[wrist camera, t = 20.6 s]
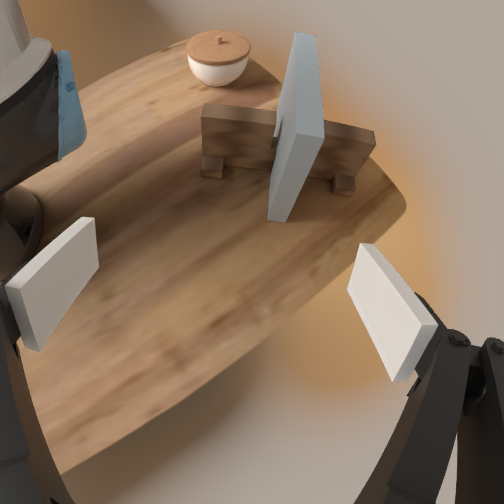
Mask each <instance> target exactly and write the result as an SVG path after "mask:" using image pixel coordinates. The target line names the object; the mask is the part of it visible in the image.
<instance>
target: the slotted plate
mask: <svg viewBox="0 0 504 504" xmlns="http://www.w3.org/2000/svg"><path fill="white" fill-rule="evenodd" d="M276 112H277V120H276V128H275V132H274V136H273V137H277V146H276V158H275V161H274V165H273V168H272V172H271V176H270V187H269V200H268V214H267V220H269V221H276V222H284V223H285V222H286V220H287V218H288V216H289V214H290V212H291V210H292V208H293V205H294V203H295V201H296V199H297V197H298V195H299V193H300V190H301V188H302V186H303V184H304V182H305V180H306V178H307V175H308V173H309V171H310V169H311V167H312V165H313V162H314V160H315V158H316V156H317V154H318V152H319V149H320V147H321V145H322V143H323V141H324V139H325V136H324V120H323V106H322V95H321V83H320V72H319V64H318V54H317V45H316V37H315V36H314V35H310V34H304V33H299V32H295V36H294V41H293V45H292V49H291V53H290V57H289V61H288V65H287V69H286V74H285V78H284V82H283V86H282V90H281V94H280V99H279V103H278V107H277V111H276Z"/></svg>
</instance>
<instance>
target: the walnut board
mask: <svg viewBox="0 0 504 504" xmlns="http://www.w3.org/2000/svg"><path fill="white" fill-rule="evenodd" d="M276 120H277V112H276V111H269V110H262V109H254V108H246V107H238V106H228V105H217V104H204V108H203V111H202V115H201V126H202V147H203V157H202V162H201V167H200V173H201V176H203V177H212V178H222V173H223V167H224V165H226V166H234V167H243V168H251V169H259V170H267V171H272V168H273V165H274V161H275V158H276V146H277V137H273V136H274V132H275V128H276ZM324 136H325V139H324V141H323V143H322V145H321V147H320V149H319V152H318V154H317V156H316V158H315V160H314V162H313V165H312V167H311V169H310V171H309V173H308V175H307V177H313V178H320V179H325V180H331V191H332V194H337V195H343V196H348V197H351V195H352V194H353V193H354V191H355V180H354V177H355V175H356V174H357V172H358V171H359V169H360V168H361V167H362V165H363V164H364V162H365V161H366V159H367V158H368V156H369V155H370V153H371V152H372V150H373V149H374V147H375V146H376V141H375V136H374V131H371V130H366V129H362V128H358V127H354V126H349V125H345V124H341V123H336V122H332V121H327V120H324Z"/></svg>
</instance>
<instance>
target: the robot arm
mask: <svg viewBox="0 0 504 504" xmlns="http://www.w3.org/2000/svg"><path fill="white" fill-rule="evenodd" d="M86 135H87V129H86V125H85V121H84V116H83V112H82V108H81V104H80V100H79V96H78V92H77V88H76V83H75V78H74V73H73V68H72V63H71V58H70V54H69V51H67V50H63V51H57V52H56V53H55V54H54V51H53V49H52V46H51V43H50V42H49V41H48V40H46V39H42V38H37V37H32V36H31V34H30V32H29V29H28V26H27V24H26V21H25V19H24V16H23V13H22V10H21V7H20V4H19V1H18V0H0V281H4V280H5V281H4V282H3V283H2V284H1V285H0V504H75V503H74V501H73V500H72V498H71V496H70V495H69V493H68V491H67V489H66V487H65V485H64V483H63V481H62V478H61V476H60V474H59V472H58V470H57V467H56V465H55V463H54V461H53V458H52V456H51V453H50V451H49V448H48V446H47V443H46V441H45V438H44V435H43V433H42V430H41V427H40V424H39V421H38V418H37V415H36V412H35V409H34V406H33V403H32V399H31V396H30V392H29V389H28V385H27V381H26V377H25V373H24V369H23V365H22V361H21V356H20V352H19V348H18V345H17V343H16V341H17V340H18V339H19V337H20V336H21V338H22V340H23V343H24V345H25V347H26V348H29V349H32V350H36V351H41V350H42V348H43V347H44V345H45V344H46V342H47V340H48V339H49V337H50V336H51V334H52V333H53V331H54V330H55V328H56V327H57V325H58V324H59V322H60V321H61V319H62V318H63V316H64V315H65V314H66V312H67V311H68V309H69V308H70V306H71V305H72V304H73V302H74V301H75V299H76V298H77V297H78V295H79V294H80V292H81V291H82V290H83V288H84V287H85V286H86V284H87V283H88V281H89V280H90V279H91V277H92V276H93V275H94V273H95V272H96V271H97V270H98V268H99V262H98V253H97V242H96V230H95V218H90V217H81V218H80V219H78V220H77V221H76V222H75V223H73V224H72V225H71V226H70V227H69V228H67V229H66V230H65V231H64V232H63V233H61V234H60V235H59V236H58V237H57V238H56V239H54V240H53V241H52V242H51V243H50V244H49V245H47V246H46V247H45V248H44V249H43V250H42V251H41V252H40V253H38V254H37V255H36V256H35V257H34V258H32V256H33V254H34V253H35V251H36V248H37V246H38V243H39V240H40V237H41V233H42V226H43V215H42V209H41V206H40V204H39V202H38V200H37V199H36V198H35V196H34V195H33V194H32V193H31V192H30V191H29V190H28V189H26V188H25V187H23V186H21V185H18V184H19V183H21V182H23V181H24V180H26V179H27V178H29V177H31V176H32V175H34V174H36V173H38V172H39V171H41V170H43V169H44V168H46V167H48V166H50V165H51V164H53V163H55V162H59V161H60V160H61V159H62V157H64V156H66V155H67V154H69V153H71V152H72V151H74V150H76V149H77V148H79V147H80V146H81V145H82V144H83V143H84V141H85V139H86ZM31 258H32V259H31ZM347 291H348V293H349V295H350V297H351V299H352V301H353V303H354V305H355V307H356V309H357V311H358V312H359V315H360V317H361V319H362V320H363V322H364V325H365V327H366V328H367V330H368V333H369V335H370V337H371V338H372V341H373V343H374V345H375V346H376V349H377V351H378V353H379V355H380V357H381V359H382V362H383V363H384V366H385V368H386V370H387V372H388V374H389V377H390V379H391V381H392V382H399V381H408V380H409V378H410V377H411V375H412V373H413V371H414V370H416V372H417V374H418V378H417V380H416V381H415V383H414V385H413V386H412V388H411V389H410V391H409V393H408V394H407V396H408V397H409V398H408V401H407V403H406V405H405V408H404V410H403V412H402V414H401V417H400V419H399V421H398V423H397V425H396V428H395V430H394V432H393V434H392V436H391V438H390V440H389V442H388V444H387V446H386V448H385V450H384V452H383V454H382V456H381V458H380V460H379V461H378V463H377V465H376V467H375V469H374V471H373V472H372V474H371V476H370V478H369V480H368V481H367V483H366V484H365V486H364V488H363V489H362V491H361V493H360V494H359V496H358V498H357V499H356V501H355V502H354V504H436V503H435V502H436V498H437V496H438V493H439V490H440V488H441V485H442V482H443V479H444V476H445V473H446V470H447V466H448V463H449V460H450V456H451V452H452V449H453V446H454V441H455V438H456V434H457V442H458V443H457V444H458V452H457V482H456V497H455V504H504V342H503V341H501V340H500V339H496V338H491V337H490V338H487V339H486V340H485V342H484V344H483V346H482V347H479V346H474V345H471V342H470V340H469V339H468V338H467V337H466V336H465V335H464V334H463V333H461V332H459V331H457V330H454V329H447V328H446V326H445V325H444V324H443V322H442V321H441V320H440V319H439V317H438V316H437V315H436V313H434V311H433V309H432V308H431V307H430V306H429V304H428V303H427V302H426V301H425V299H424V298H422V297H421V296H420V295H418V294H417V293H415V292H413V291H412V290H411V288H410V287H409V286H408V285H407V283H406V282H405V281H404V280H403V279H402V278H401V276H400V275H399V274H398V272H397V271H396V270H395V269H394V268H393V266H392V265H391V264H390V263H389V262H388V260H387V259H386V258H385V257H384V256H383V255H382V253H381V252H380V251H379V250H378V249H377V248H376V246H375V245H374V244H368V243H360V245H359V249H358V253H357V256H356V260H355V264H354V268H353V271H352V274H351V278H350V281H349V284H348V288H347Z"/></svg>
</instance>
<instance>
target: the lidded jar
mask: <svg viewBox="0 0 504 504" xmlns="http://www.w3.org/2000/svg"><path fill="white" fill-rule="evenodd" d="M250 48H251V45H250V42H249V41H248V40H247V38H246V37H244V36H243V35H241V34H239V33H236V32H233V31H227V30H211V31H206V32H202V33H199V34H197V35H195V36H194V37H192V38H191V39H190V40H189V41H188V43H187V54H188V62H189V66H190V68H191V71H192V72H193V74H194V75H195V76H196V77H197V78H198V79H199V80H201V81H202V82H204V83H205V84H207V85H209V86H214V87H220V86H225V85H228V84H230V83H231V82H232V81H234V80H236V79H237V78H238V77H239V76H240V75H241V74H242V73H243V71H244V70H245V67H246V65H247V62H248V57H249V53H250Z"/></svg>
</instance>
